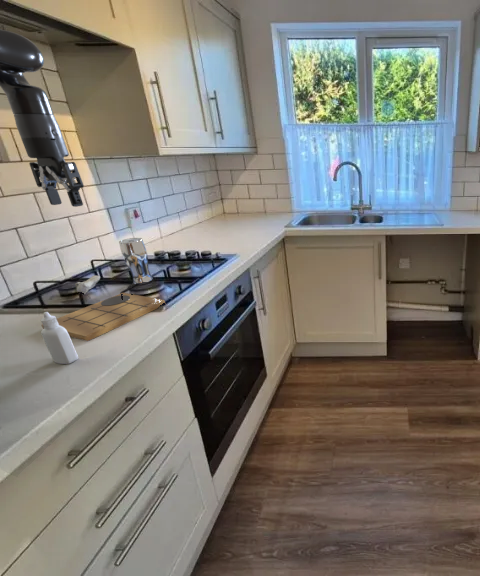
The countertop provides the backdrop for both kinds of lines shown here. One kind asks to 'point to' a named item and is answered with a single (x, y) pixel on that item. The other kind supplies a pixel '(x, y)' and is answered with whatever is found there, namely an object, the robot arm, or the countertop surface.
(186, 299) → the countertop surface
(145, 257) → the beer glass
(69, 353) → the eye dropper bottle
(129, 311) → the board
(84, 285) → the bone fragment
